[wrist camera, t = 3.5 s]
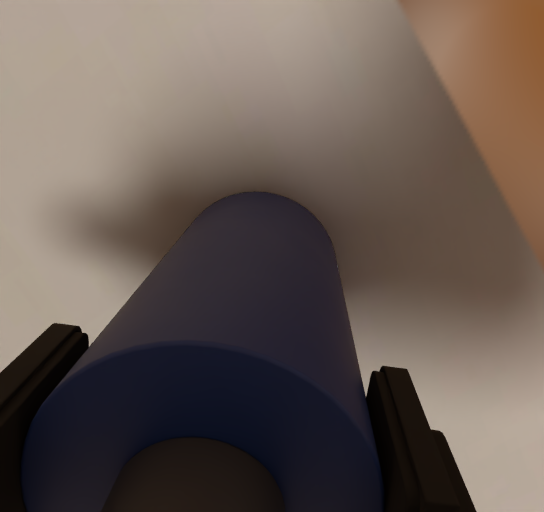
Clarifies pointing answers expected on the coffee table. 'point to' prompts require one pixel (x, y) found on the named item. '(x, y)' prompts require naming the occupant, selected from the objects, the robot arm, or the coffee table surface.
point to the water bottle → (217, 383)
